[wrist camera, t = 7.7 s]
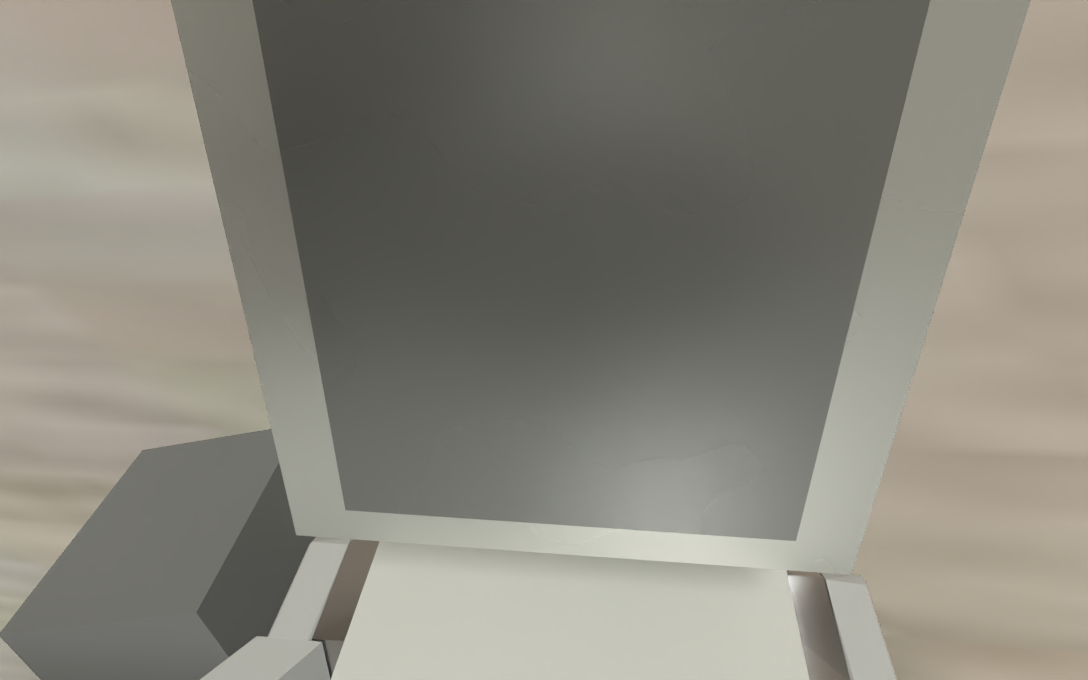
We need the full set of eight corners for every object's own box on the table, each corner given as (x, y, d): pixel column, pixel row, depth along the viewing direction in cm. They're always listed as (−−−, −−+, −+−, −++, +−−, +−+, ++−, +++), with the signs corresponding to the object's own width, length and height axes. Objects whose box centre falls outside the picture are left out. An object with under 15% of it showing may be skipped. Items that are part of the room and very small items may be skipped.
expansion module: (470, 569, 14) (349, 1127, 8) (454, 329, 11) (252, 898, 5) (699, 588, 14) (752, 1181, 8) (738, 345, 11) (869, 964, 5)
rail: (476, 642, 21) (386, 1122, 13) (414, -274, 10) (-178, -548, 3) (709, 660, 20) (758, 1169, 13) (882, -276, 10) (1714, -613, 2)
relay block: (223, 568, 20) (118, 761, 16) (143, 449, 18) (-2, 634, 14) (368, 549, 19) (296, 749, 15) (300, 423, 17) (196, 612, 13)
